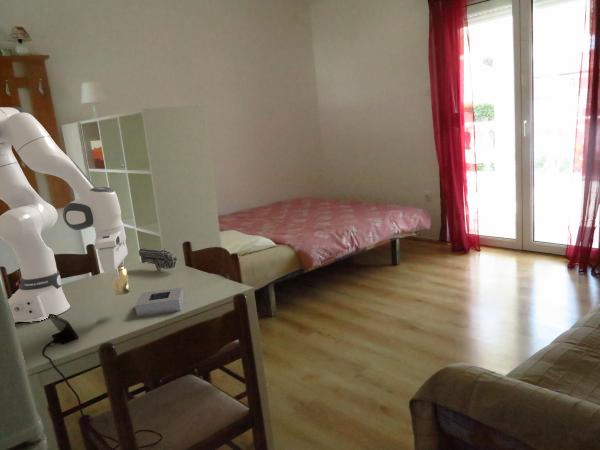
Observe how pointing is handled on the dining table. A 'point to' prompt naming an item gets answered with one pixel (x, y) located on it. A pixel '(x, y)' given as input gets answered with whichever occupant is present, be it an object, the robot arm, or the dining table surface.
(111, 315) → the dining table surface
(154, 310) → the housing
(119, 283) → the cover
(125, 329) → the dining table surface
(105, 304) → the dining table surface
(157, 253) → the toy gun
